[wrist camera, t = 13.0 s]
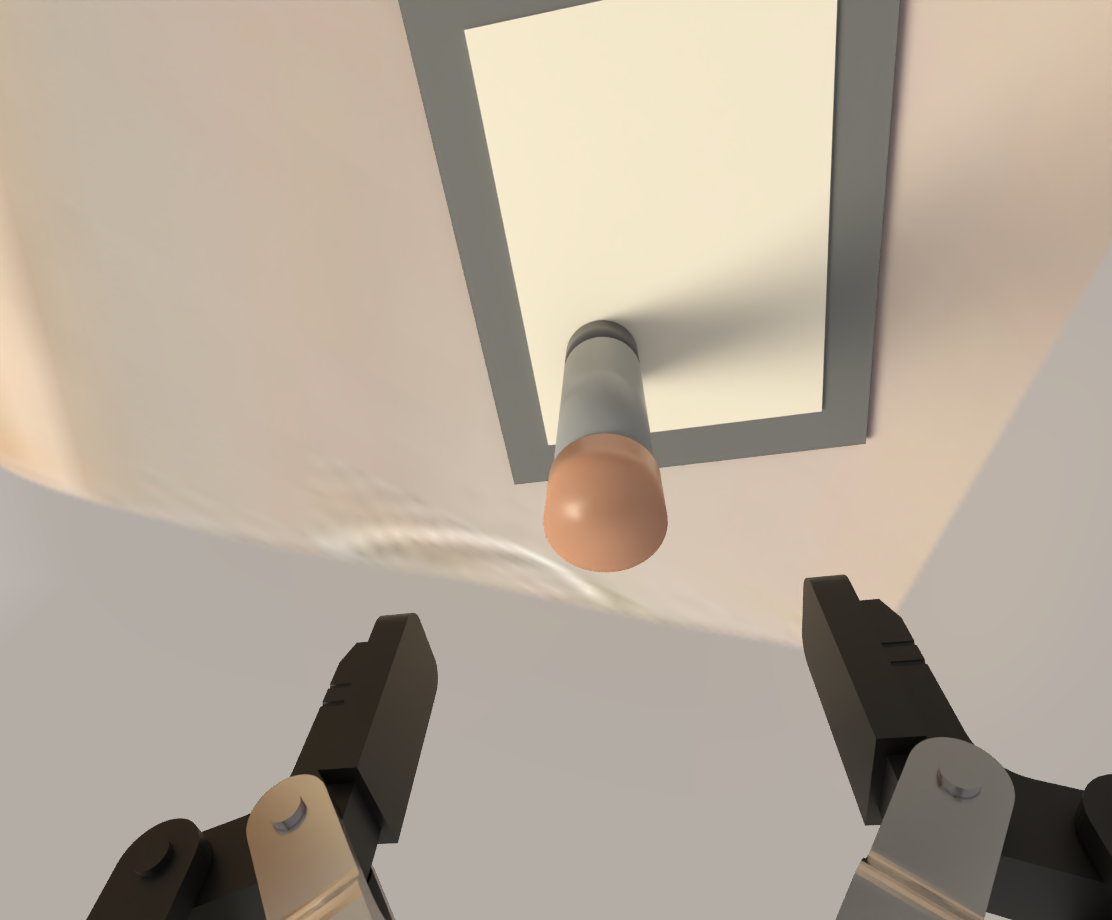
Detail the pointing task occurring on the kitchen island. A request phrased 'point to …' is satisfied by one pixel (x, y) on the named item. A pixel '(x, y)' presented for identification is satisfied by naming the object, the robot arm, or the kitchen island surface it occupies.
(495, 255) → the writing mat
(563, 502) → the marker
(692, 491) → the kitchen island surface
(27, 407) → the kitchen island surface
